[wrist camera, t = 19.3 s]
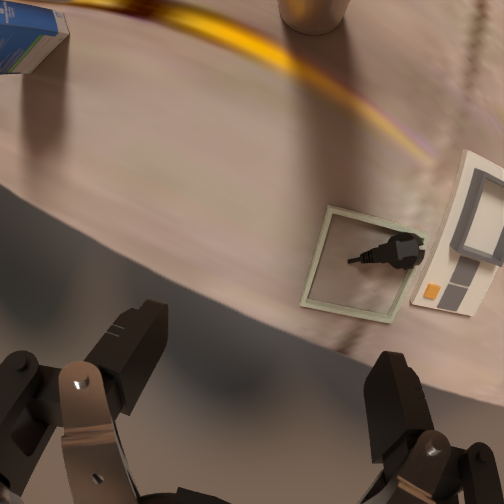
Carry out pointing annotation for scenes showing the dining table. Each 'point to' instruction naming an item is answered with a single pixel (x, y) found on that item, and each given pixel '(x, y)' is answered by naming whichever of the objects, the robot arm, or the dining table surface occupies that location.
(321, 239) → the pick tray
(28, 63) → the string lights box
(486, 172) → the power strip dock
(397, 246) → the power plug
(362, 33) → the dining table surface
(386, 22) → the dining table surface
